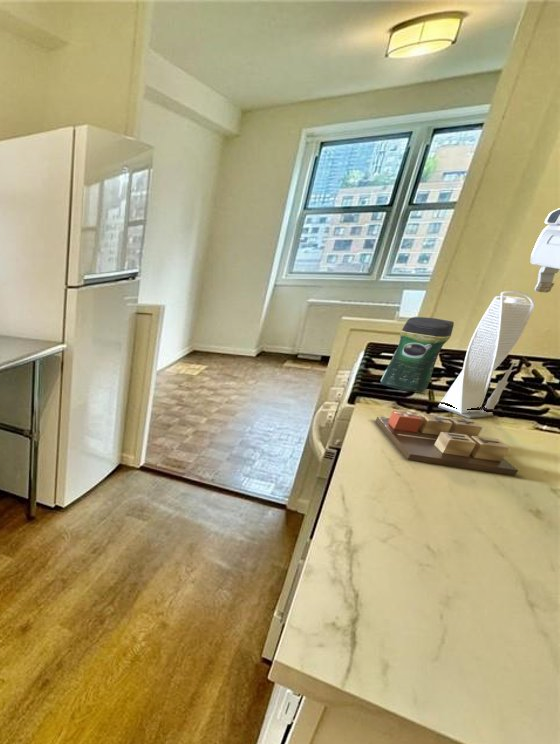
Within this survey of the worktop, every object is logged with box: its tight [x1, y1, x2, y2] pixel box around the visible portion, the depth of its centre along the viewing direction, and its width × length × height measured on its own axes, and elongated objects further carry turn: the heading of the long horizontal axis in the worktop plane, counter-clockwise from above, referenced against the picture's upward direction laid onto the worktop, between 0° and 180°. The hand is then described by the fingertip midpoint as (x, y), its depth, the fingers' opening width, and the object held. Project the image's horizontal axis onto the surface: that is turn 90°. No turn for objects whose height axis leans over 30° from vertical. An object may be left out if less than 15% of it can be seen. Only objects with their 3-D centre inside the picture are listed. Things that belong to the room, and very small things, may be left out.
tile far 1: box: [471, 435, 510, 462], centre depth 93 cm, size 4×4×3 cm
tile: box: [434, 432, 476, 457], centre depth 94 cm, size 4×4×3 cm
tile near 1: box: [448, 416, 483, 438], centre depth 101 cm, size 4×4×3 cm
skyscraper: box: [437, 290, 536, 419], centre depth 110 cm, size 8×8×28 cm
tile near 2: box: [418, 413, 452, 435], centre depth 103 cm, size 4×4×3 cm
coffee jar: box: [380, 316, 455, 393], centre depth 127 cm, size 10×8×19 cm
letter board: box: [375, 416, 519, 477], centre depth 100 cm, size 16×20×1 cm
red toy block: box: [388, 409, 423, 432], centre depth 104 cm, size 5×4×3 cm
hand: (556, 295), depth 92 cm, fingers open, 8 cm apart
